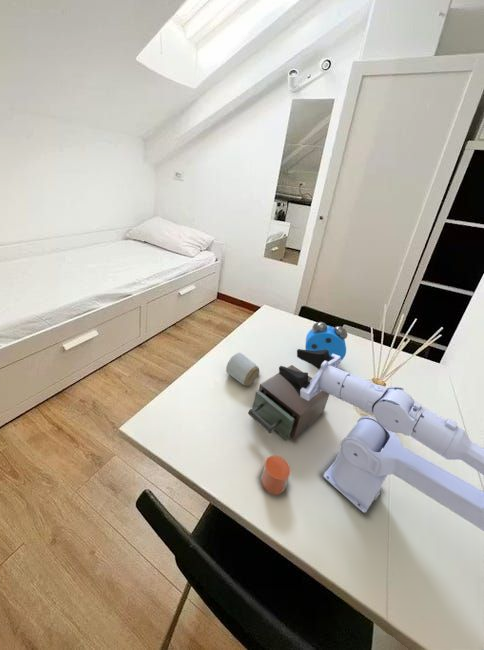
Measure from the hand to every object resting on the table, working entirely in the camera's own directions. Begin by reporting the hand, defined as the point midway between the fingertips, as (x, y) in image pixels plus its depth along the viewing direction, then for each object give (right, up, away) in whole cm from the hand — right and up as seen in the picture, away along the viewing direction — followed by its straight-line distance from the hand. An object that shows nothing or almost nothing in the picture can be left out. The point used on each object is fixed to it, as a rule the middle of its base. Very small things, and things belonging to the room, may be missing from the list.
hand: (289, 361), depth 70 cm
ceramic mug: (-8, -11, +23) cm, 27 cm away
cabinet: (+3, -17, +12) cm, 21 cm away
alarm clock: (+21, -9, +35) cm, 42 cm away
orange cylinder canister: (-5, -24, -7) cm, 26 cm away
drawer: (-1, -17, +8) cm, 19 cm away
